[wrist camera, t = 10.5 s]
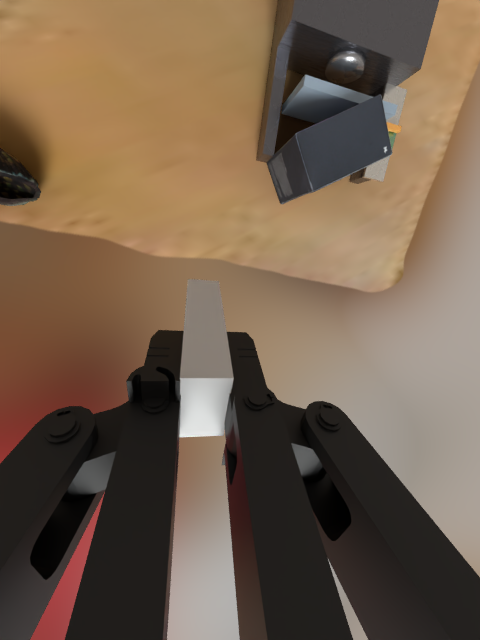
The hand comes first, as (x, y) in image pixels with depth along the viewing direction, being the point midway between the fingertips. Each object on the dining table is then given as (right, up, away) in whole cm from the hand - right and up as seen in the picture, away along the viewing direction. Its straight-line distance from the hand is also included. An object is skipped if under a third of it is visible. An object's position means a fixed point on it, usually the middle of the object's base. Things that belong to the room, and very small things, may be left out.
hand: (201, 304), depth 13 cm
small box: (+11, +21, +24) cm, 34 cm away
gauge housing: (+13, +29, +22) cm, 39 cm away
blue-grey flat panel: (+15, +26, +22) cm, 38 cm away
